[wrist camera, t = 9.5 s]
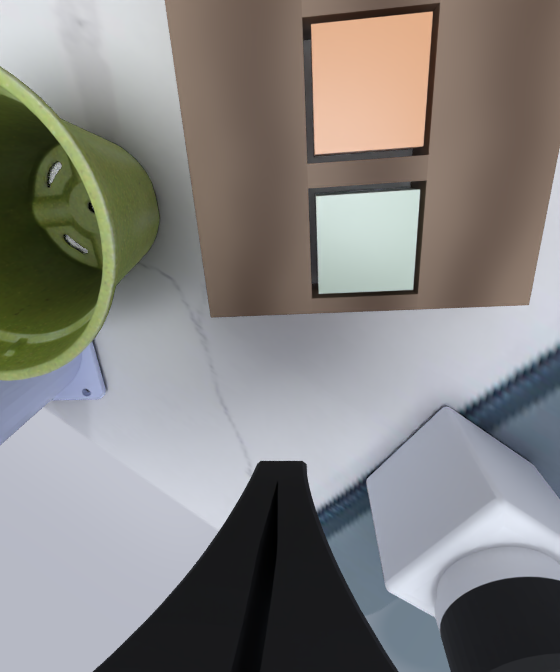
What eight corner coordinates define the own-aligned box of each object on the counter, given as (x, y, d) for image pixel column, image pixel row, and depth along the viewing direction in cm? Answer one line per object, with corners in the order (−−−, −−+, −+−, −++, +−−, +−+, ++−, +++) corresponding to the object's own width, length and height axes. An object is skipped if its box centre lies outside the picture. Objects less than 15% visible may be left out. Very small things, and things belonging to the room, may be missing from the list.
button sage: (317, 279, 19) (318, 293, 17) (315, 193, 17) (316, 196, 15) (400, 275, 19) (412, 289, 16) (405, 187, 17) (420, 189, 15)
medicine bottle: (362, 478, 24) (408, 735, 13) (444, 401, 22) (585, 640, 11) (447, 530, 25) (553, 804, 14) (534, 463, 23) (743, 734, 12)
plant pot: (233, 186, 18) (174, 199, 10) (139, 333, 21) (38, 430, 13) (50, 43, 16) (-199, -81, 8) (-22, 227, 19) (-249, 266, 12)
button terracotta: (313, 156, 17) (314, 154, 15) (310, 45, 15) (310, 24, 13) (408, 149, 16) (423, 146, 14) (414, 34, 15) (432, 11, 13)
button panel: (221, 300, 20) (210, 317, 18) (161, -162, 14) (131, -230, 11) (502, 288, 19) (528, 305, 17) (586, -227, 12) (650, -317, 10)
